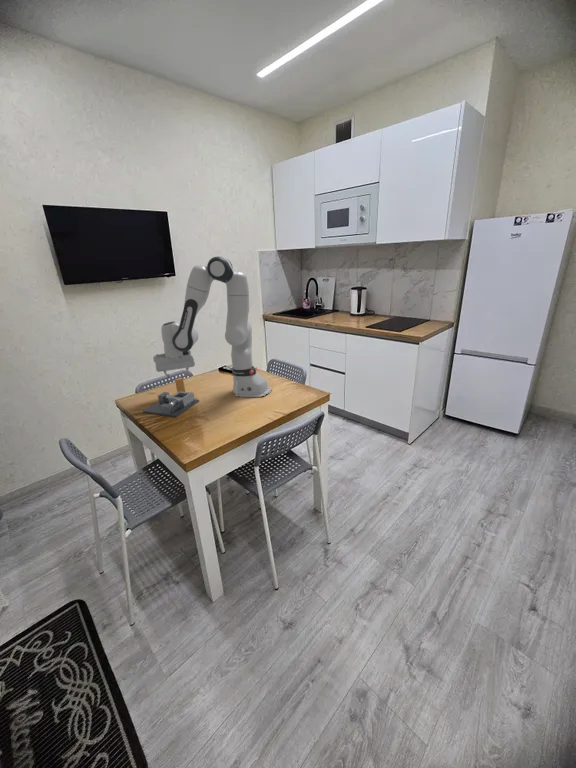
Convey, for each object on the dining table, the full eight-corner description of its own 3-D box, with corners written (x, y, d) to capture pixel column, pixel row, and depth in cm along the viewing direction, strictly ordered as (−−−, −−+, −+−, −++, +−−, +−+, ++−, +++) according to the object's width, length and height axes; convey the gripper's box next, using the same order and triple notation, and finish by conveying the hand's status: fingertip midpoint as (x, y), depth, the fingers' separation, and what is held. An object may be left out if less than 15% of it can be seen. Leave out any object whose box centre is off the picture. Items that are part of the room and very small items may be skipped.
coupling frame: (199, 401, 168) (197, 391, 166) (176, 417, 151) (174, 406, 149) (168, 397, 175) (166, 388, 173) (143, 412, 158) (141, 402, 156)
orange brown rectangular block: (184, 392, 181) (182, 377, 178) (185, 394, 178) (183, 379, 174) (177, 393, 180) (174, 379, 176) (178, 396, 176) (175, 381, 173)
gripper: (153, 356, 163) (157, 381, 168) (193, 351, 171) (196, 375, 176) (152, 353, 168) (156, 377, 173) (191, 348, 176) (194, 372, 181)
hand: (177, 376), depth 175 cm, fingers open, 8 cm apart
